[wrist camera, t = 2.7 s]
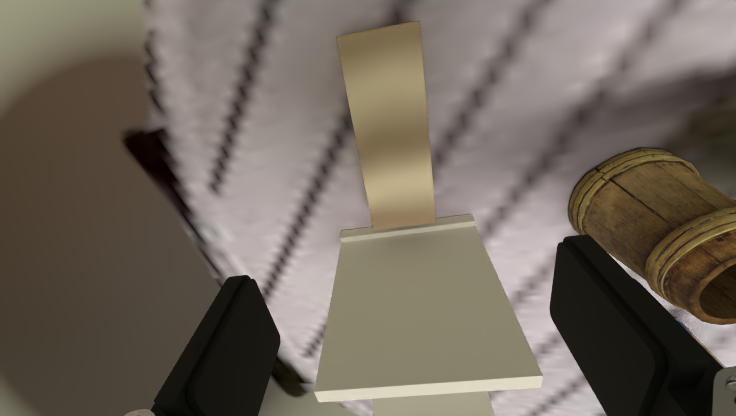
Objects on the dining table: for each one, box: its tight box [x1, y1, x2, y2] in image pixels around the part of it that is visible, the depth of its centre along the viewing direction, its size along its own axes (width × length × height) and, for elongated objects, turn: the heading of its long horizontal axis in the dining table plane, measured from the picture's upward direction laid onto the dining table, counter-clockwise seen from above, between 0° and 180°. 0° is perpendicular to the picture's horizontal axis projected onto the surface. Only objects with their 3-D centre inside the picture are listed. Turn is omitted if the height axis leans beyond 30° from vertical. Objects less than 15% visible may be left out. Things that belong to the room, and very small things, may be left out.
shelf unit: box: [314, 214, 543, 416], centre depth 29 cm, size 20×12×15 cm, turn 10°
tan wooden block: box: [336, 21, 436, 230], centre depth 25 cm, size 14×5×4 cm, turn 10°
